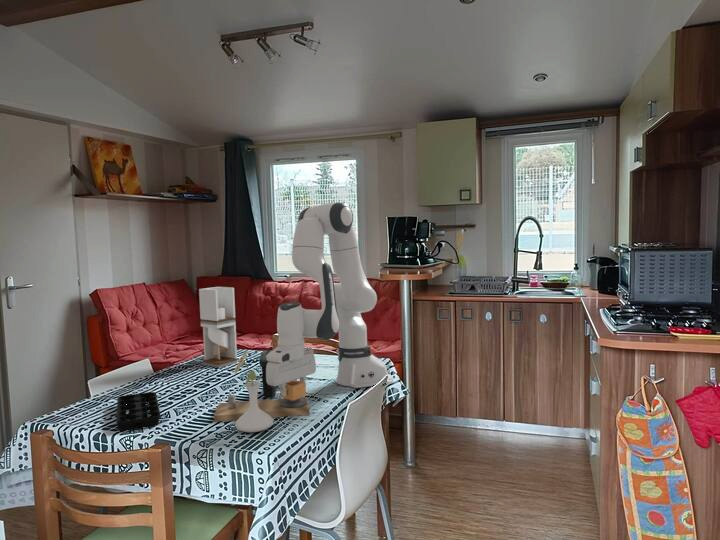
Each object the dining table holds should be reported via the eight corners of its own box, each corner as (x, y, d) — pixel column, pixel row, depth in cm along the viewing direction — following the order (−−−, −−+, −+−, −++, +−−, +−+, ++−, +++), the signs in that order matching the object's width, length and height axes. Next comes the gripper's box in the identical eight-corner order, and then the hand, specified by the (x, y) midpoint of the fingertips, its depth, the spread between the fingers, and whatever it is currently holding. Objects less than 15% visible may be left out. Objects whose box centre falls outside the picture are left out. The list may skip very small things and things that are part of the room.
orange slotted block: (293, 392, 175) (292, 379, 175) (306, 395, 171) (305, 382, 171) (280, 397, 170) (279, 384, 170) (293, 400, 167) (292, 386, 166)
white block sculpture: (202, 364, 236) (199, 289, 233) (220, 359, 244) (217, 286, 242) (219, 367, 229) (215, 290, 227) (237, 362, 238) (234, 287, 235)
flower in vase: (247, 420, 162) (243, 342, 160) (280, 423, 159) (277, 343, 157) (225, 436, 150) (221, 352, 148) (260, 439, 146) (256, 353, 145)
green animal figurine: (272, 400, 182) (270, 344, 180) (256, 399, 184) (254, 343, 182) (295, 384, 201) (293, 333, 199) (280, 383, 202) (278, 333, 201)
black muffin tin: (153, 399, 188) (152, 389, 187) (179, 422, 164) (178, 410, 163) (100, 410, 177) (99, 399, 177) (120, 436, 153) (119, 424, 153)
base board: (308, 402, 178) (307, 382, 177) (309, 414, 166) (308, 393, 165) (219, 409, 174) (218, 388, 173) (214, 421, 162) (213, 400, 161)
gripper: (306, 344, 180) (307, 383, 181) (262, 356, 164) (263, 399, 165) (319, 346, 176) (320, 386, 177) (275, 359, 160) (277, 402, 161)
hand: (292, 392), depth 171 cm, fingers closed on orange slotted block, 6 cm apart
